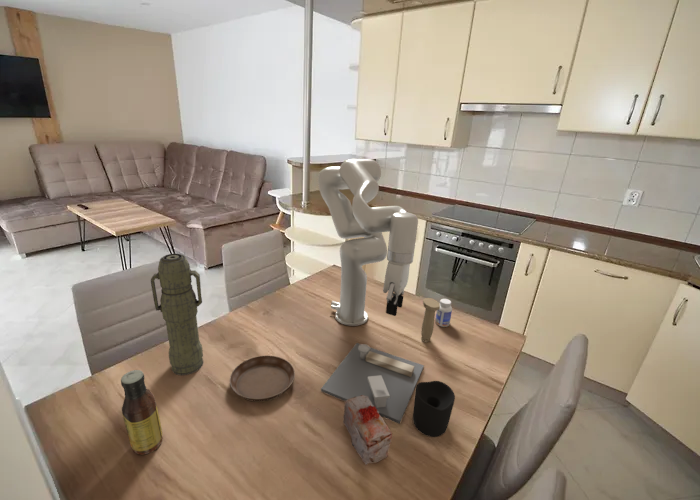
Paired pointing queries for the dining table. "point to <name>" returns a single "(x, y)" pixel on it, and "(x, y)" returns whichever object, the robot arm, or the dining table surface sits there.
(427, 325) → the handle
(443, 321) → the pill bottle
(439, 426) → the pen holder
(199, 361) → the thermos
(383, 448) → the food item
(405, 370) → the link
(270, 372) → the plant saucer
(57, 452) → the dining table surface
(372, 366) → the board
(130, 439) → the sauce bottle
